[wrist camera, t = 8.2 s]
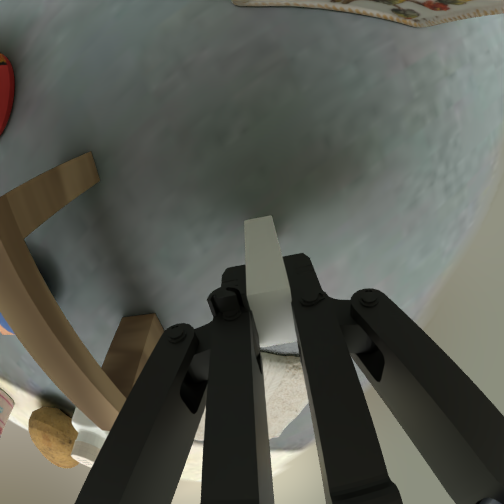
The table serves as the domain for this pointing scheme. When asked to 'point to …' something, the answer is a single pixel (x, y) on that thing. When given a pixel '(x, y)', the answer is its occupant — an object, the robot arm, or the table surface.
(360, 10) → the decorative jar
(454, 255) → the table surface
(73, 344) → the bridge
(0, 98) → the canned food
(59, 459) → the potato
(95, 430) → the salt shaker
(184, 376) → the robot arm
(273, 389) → the washcloth
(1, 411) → the beverage can
